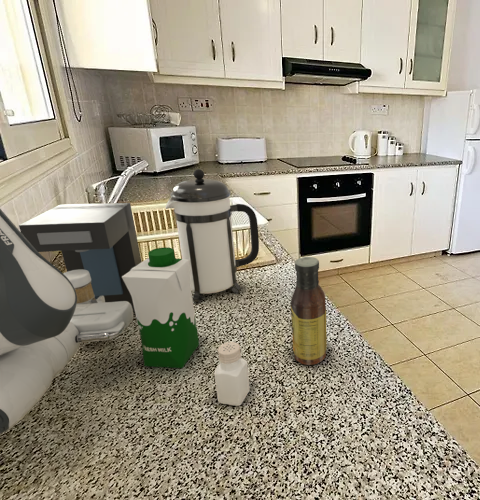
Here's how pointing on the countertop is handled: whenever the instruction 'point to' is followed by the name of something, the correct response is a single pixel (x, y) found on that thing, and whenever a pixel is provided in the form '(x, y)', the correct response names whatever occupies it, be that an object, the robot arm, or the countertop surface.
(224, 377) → the salt shaker
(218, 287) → the coffee press
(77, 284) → the sprinkles bottle
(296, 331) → the sauce bottle
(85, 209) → the coffee maker
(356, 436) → the countertop surface
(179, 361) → the milk carton
